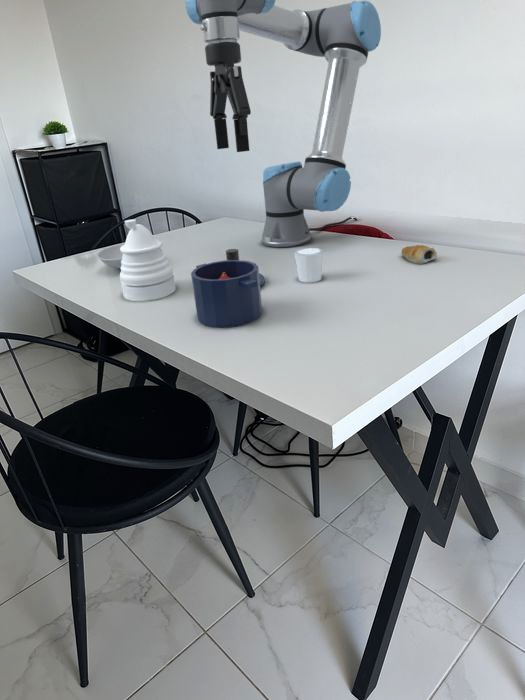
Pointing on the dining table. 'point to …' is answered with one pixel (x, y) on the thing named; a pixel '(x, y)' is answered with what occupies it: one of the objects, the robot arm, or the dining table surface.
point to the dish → (111, 256)
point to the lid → (234, 255)
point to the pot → (227, 293)
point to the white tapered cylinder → (309, 264)
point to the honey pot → (144, 266)
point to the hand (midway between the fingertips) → (232, 150)
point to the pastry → (419, 254)
